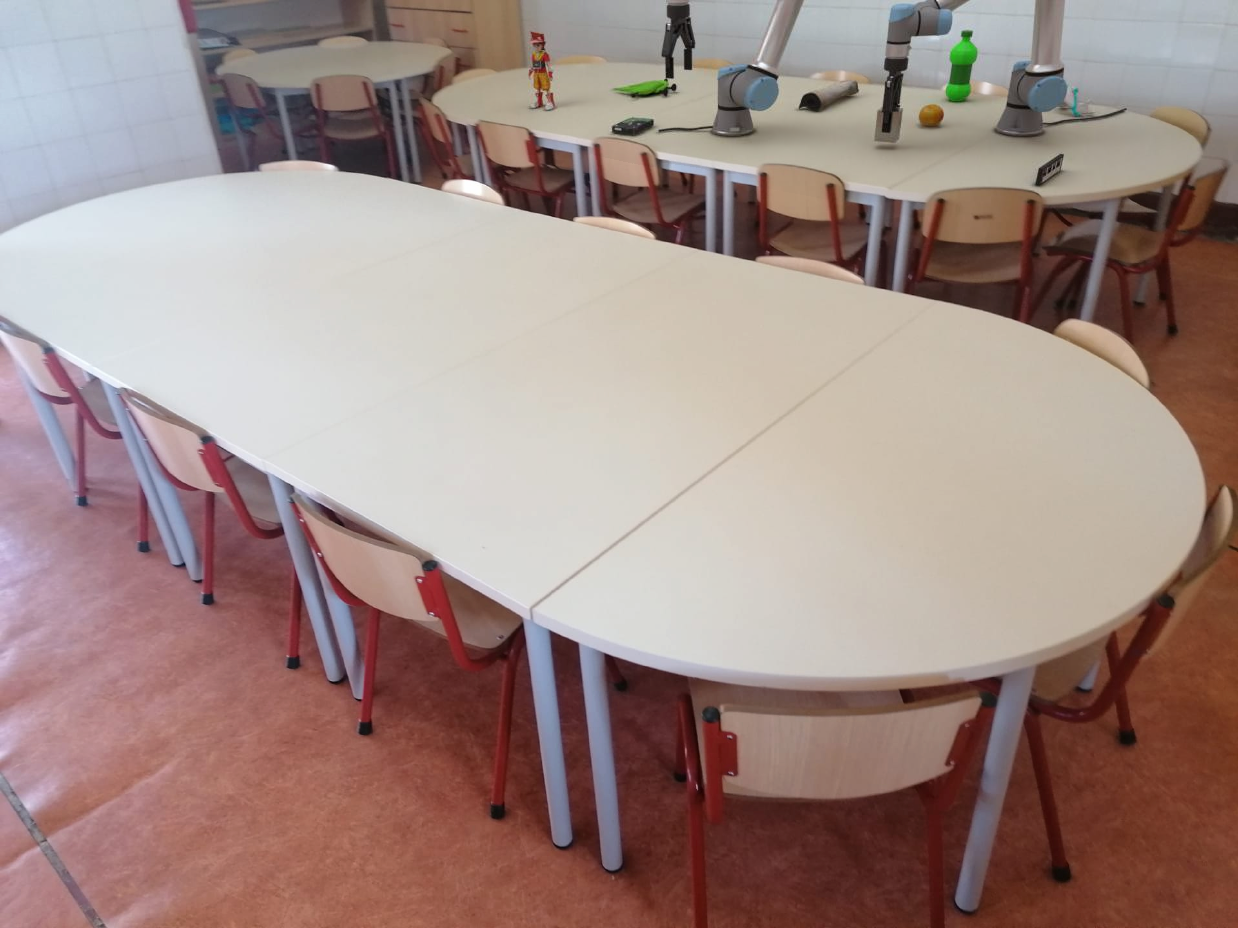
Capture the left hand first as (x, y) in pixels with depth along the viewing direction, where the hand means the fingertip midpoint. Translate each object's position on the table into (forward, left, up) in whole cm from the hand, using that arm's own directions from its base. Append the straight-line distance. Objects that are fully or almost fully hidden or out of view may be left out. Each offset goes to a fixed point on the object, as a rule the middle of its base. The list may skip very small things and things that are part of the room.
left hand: (679, 74), depth 301 cm
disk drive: (-32, +22, -26) cm, 47 cm away
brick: (+64, +31, -24) cm, 75 cm away
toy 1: (-87, +41, -26) cm, 100 cm away
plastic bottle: (+70, +104, -26) cm, 128 cm away
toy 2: (-60, +78, -26) cm, 102 cm away
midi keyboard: (+119, +16, -26) cm, 123 cm away
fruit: (+70, +64, -26) cm, 99 cm away
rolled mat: (+24, +85, -26) cm, 92 cm away
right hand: (+64, +31, -20) cm, 74 cm away
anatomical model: (+113, +98, -26) cm, 152 cm away
